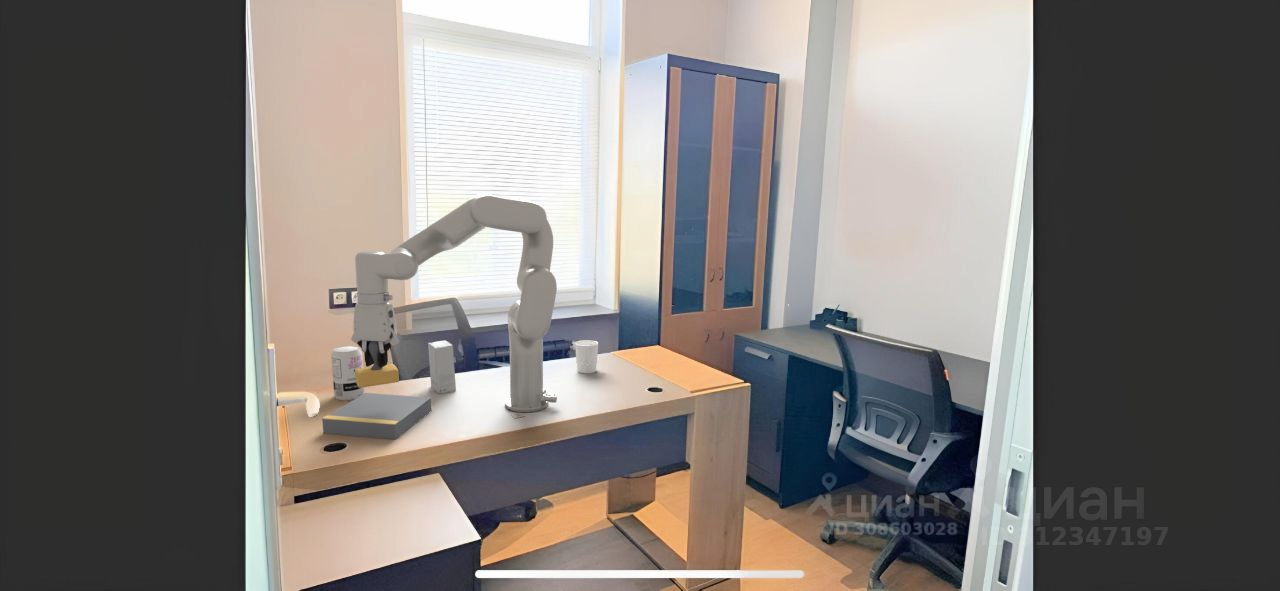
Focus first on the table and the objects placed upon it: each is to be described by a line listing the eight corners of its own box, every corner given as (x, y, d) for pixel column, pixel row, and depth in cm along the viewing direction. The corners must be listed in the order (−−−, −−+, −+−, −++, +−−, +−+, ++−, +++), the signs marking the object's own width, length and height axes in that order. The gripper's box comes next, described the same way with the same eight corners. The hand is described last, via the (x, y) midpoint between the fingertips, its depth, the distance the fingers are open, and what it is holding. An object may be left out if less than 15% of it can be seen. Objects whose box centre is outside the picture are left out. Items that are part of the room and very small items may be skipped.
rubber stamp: (394, 376, 176) (392, 334, 173) (399, 382, 171) (397, 339, 169) (355, 381, 170) (352, 338, 168) (359, 388, 166) (356, 343, 163)
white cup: (596, 374, 218) (597, 346, 216) (574, 373, 218) (574, 345, 216) (598, 367, 225) (599, 340, 223) (576, 366, 225) (576, 339, 223)
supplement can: (340, 392, 195) (337, 344, 192) (368, 391, 195) (365, 345, 192) (330, 401, 187) (326, 352, 184) (359, 401, 187) (355, 352, 184)
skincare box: (456, 391, 198) (454, 345, 195) (436, 394, 194) (435, 348, 192) (448, 383, 205) (446, 339, 202) (429, 386, 201) (427, 341, 198)
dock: (431, 411, 181) (431, 397, 180) (395, 439, 162) (394, 424, 161) (366, 405, 184) (365, 392, 183) (323, 433, 164) (322, 418, 164)
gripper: (409, 297, 169) (412, 363, 172) (352, 294, 171) (356, 359, 175) (394, 303, 162) (398, 372, 165) (335, 299, 164) (339, 367, 167)
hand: (376, 365), depth 170 cm, fingers closed on rubber stamp, 3 cm apart
